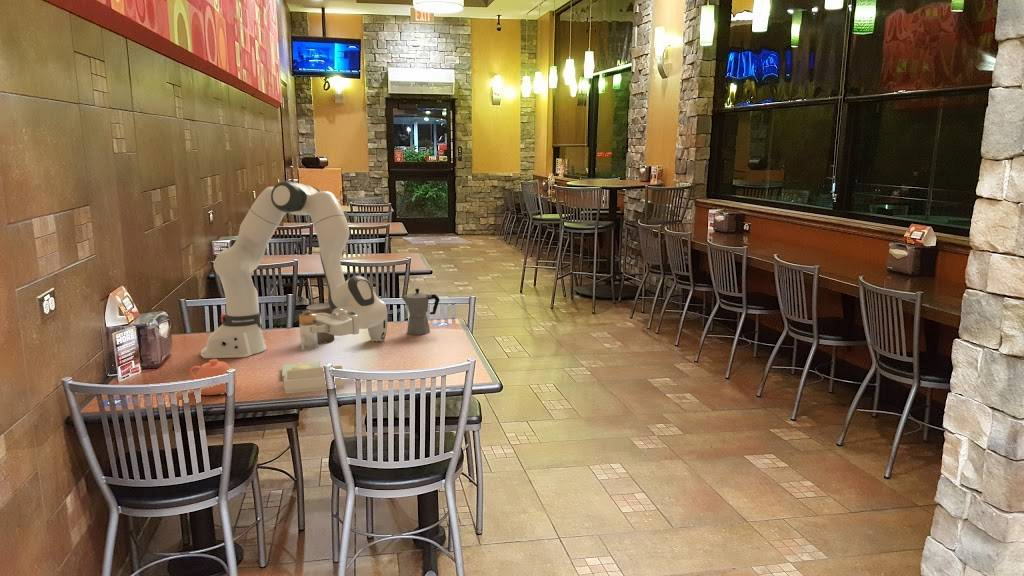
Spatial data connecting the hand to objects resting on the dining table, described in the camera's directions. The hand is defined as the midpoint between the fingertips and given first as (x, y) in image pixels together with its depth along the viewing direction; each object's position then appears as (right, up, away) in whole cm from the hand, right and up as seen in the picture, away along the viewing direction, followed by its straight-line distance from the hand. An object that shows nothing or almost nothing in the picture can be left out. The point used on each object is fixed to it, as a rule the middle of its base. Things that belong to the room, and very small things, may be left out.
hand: (305, 328), depth 220 cm
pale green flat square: (-5, -15, +12) cm, 20 cm away
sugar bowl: (-27, -19, -6) cm, 34 cm away
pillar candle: (-9, -8, +50) cm, 52 cm away
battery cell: (+1, -6, +2) cm, 7 cm away
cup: (+13, -8, +50) cm, 52 cm away
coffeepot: (+28, -5, +62) cm, 68 cm away
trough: (+3, -18, -1) cm, 18 cm away
